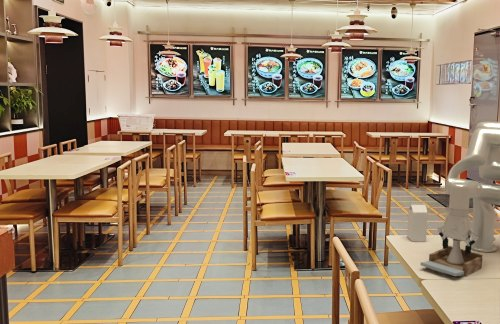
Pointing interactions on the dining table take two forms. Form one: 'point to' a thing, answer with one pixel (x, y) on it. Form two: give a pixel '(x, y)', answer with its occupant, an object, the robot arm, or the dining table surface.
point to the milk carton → (417, 222)
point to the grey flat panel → (442, 268)
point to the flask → (455, 254)
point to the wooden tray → (470, 265)
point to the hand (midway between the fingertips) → (456, 251)
